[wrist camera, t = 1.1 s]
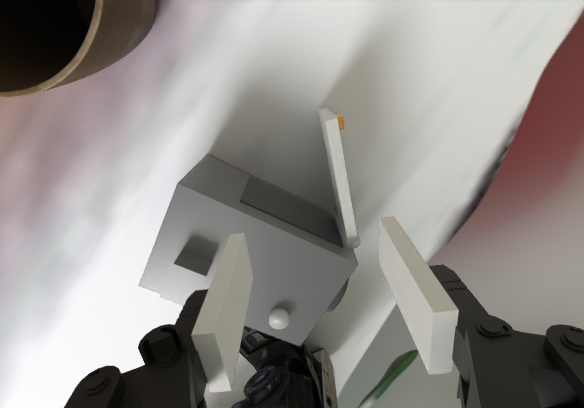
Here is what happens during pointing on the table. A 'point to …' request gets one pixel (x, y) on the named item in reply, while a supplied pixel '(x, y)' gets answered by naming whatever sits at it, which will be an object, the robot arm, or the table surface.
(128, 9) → the plant pot
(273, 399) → the vintage camera
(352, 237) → the side door
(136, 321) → the table surface
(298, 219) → the block
